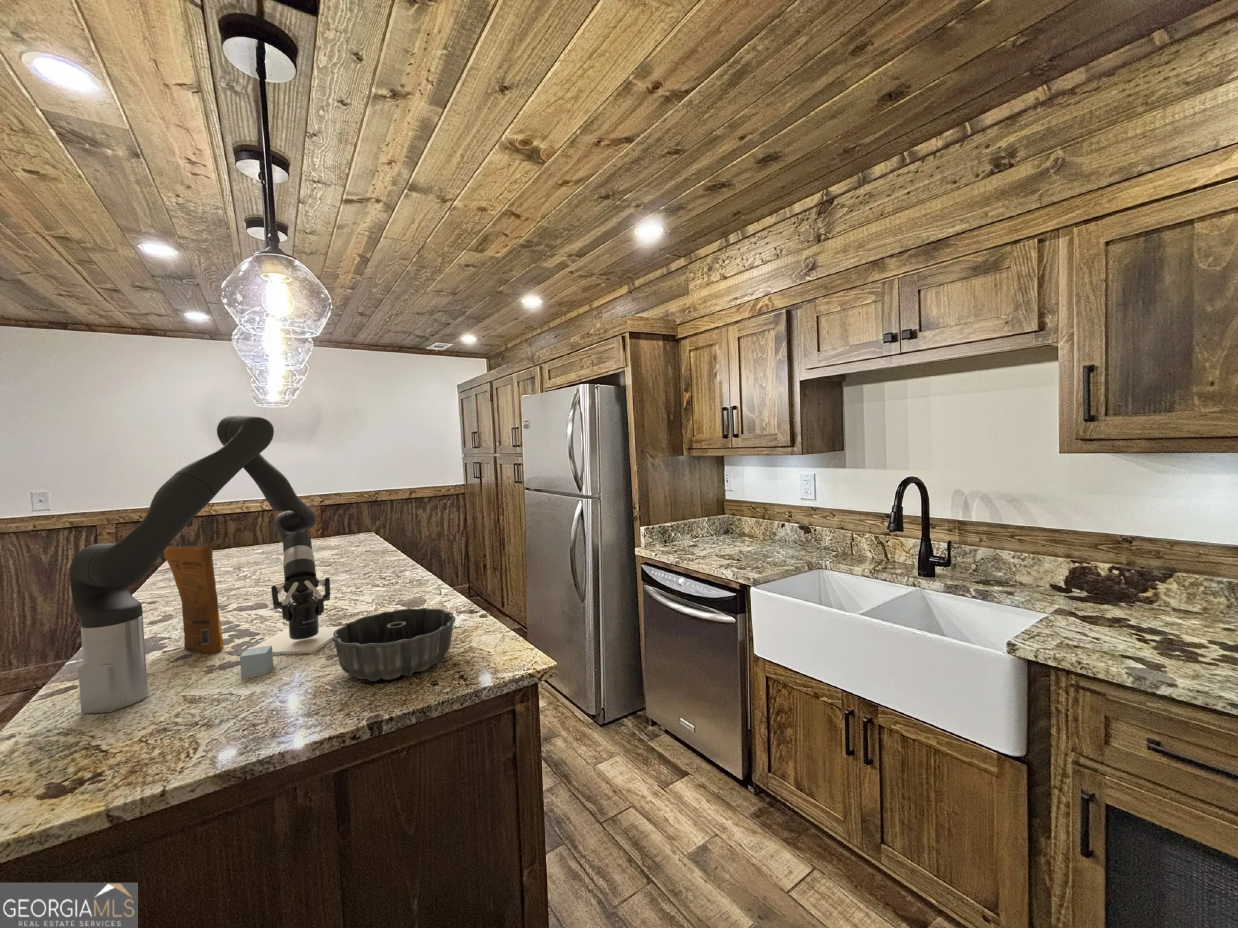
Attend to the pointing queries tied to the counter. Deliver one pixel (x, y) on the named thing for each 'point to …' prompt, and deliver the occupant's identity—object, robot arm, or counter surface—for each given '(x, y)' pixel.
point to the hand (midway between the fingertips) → (304, 616)
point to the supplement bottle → (303, 615)
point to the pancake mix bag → (197, 596)
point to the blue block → (256, 661)
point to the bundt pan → (394, 643)
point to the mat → (298, 642)
